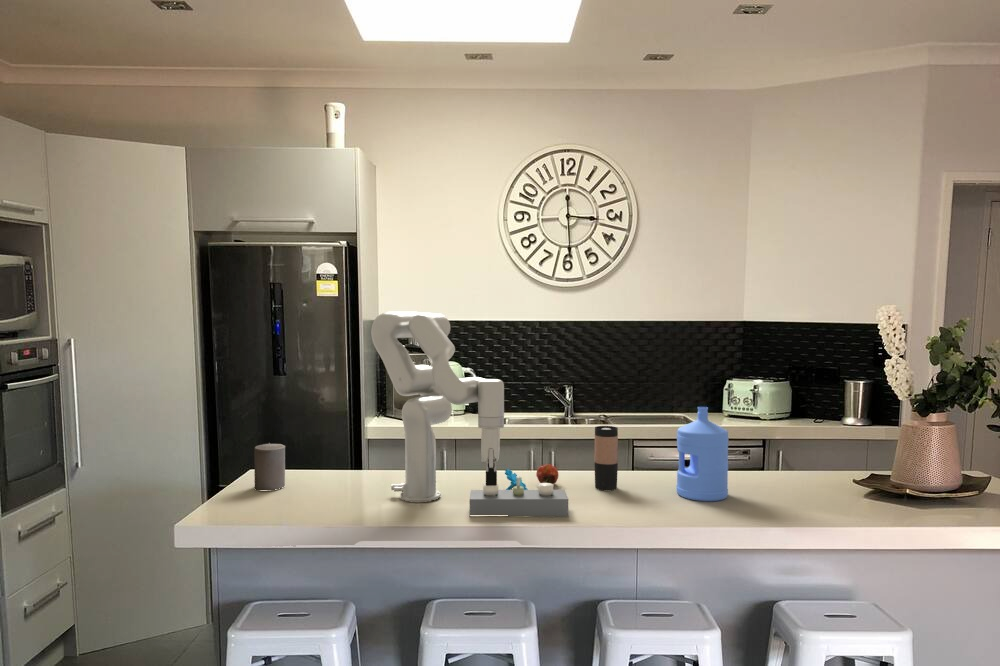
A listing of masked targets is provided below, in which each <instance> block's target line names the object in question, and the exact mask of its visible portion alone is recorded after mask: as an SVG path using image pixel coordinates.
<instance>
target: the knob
mask: <svg viewBox="0 0 1000 666" xmlns="http://www.w3.org/2000/svg"><path fill="white" fill-rule="evenodd" d="M482 485H483V487H482V490H483V494H485V495H486V496H496V494H498V490H499V484H498V483H497V485H496V486H486V482H485V483H484V484H482Z"/></svg>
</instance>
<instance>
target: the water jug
mask: <svg viewBox="0 0 1000 666" xmlns="http://www.w3.org/2000/svg"><path fill="white" fill-rule="evenodd" d="M708 410H709V407H707V406H697V418H696V420H694V421H691V422H689V423H687V424H685V425H682V426H680V427H678V428H677V434H676V442H677V446H676V447H677V448H676V449H677V451H678V470H677V471H676V478H677V479H676V493H677V494H678V495H679V496H680V497H682V498H684V499H687V500H692V501H698V502H718V501H723V500H725V499H727V498H728V496H729V489H728V481H729V478H728V476H729V475H728V474H729V473H728V471H729V461H728V460H729V440H730V439H729V431H728V430H727V429H726V428H724V427H722V426H720V425H718V424H716V423H714V422H711V421H710V420H709V419H708V418H709V417H708V416H709V412H708ZM685 455H689V465H688V467H685V463H686V462H685V459H686V458H685Z"/></svg>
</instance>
